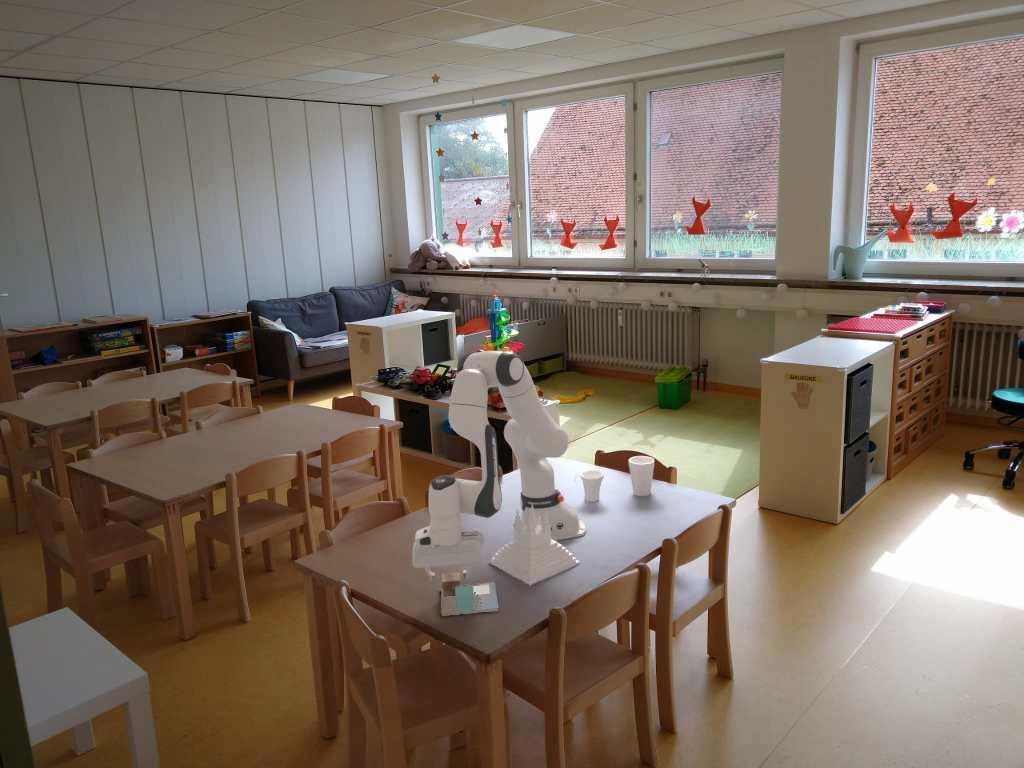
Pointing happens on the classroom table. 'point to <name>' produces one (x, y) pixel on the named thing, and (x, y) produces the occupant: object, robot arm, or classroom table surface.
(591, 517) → the classroom table surface
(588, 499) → the cup
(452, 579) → the walnut cube
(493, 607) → the building board
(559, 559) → the castle model
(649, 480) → the foam cup
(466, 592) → the teal cube
